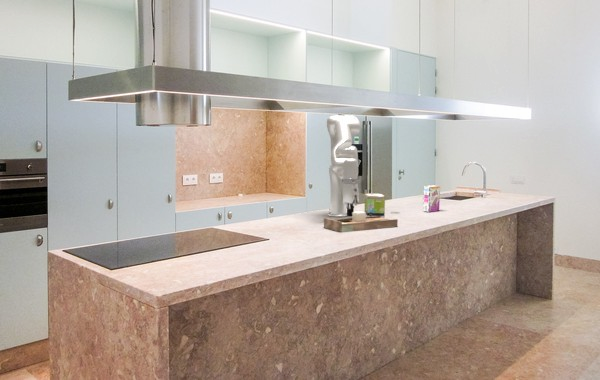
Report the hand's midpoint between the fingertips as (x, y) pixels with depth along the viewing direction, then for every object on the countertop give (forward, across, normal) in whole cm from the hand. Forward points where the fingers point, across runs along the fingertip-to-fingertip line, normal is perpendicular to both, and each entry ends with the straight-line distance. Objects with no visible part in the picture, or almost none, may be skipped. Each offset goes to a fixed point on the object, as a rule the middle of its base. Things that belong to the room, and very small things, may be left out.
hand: (350, 215), depth 278 cm
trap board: (+5, -11, 0) cm, 12 cm away
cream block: (+2, -8, 0) cm, 9 cm away
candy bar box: (+5, +20, -74) cm, 77 cm away
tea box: (+5, +6, -20) cm, 21 cm away
